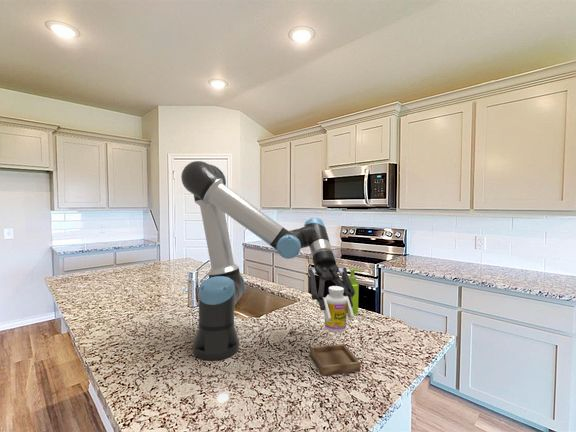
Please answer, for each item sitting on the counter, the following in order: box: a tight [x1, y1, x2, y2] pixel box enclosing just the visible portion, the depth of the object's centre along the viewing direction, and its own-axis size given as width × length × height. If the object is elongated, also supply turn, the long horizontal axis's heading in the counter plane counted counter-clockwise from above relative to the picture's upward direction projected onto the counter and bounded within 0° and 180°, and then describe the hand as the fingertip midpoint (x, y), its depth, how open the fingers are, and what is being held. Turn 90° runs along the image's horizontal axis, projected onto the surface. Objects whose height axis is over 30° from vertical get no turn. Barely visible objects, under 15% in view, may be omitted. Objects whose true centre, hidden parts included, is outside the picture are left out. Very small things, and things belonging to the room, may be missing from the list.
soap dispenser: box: [346, 268, 362, 315], centre depth 136 cm, size 6×7×20 cm
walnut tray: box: [309, 343, 361, 377], centre depth 93 cm, size 12×12×2 cm
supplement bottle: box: [324, 285, 347, 333], centre depth 92 cm, size 7×7×13 cm
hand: (340, 318), depth 89 cm, fingers closed on supplement bottle, 7 cm apart
